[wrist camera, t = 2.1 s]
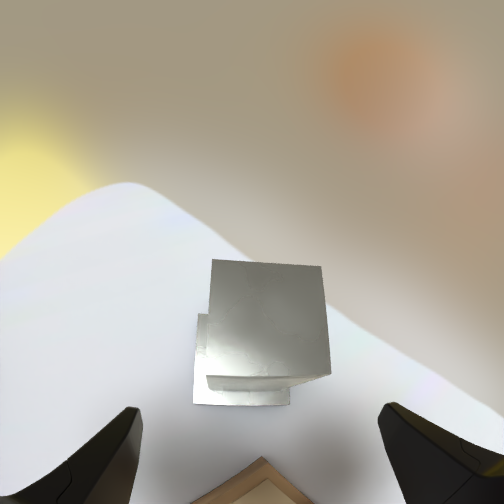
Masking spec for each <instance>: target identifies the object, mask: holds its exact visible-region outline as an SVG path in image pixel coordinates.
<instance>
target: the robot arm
mask: <svg viewBox="0 0 504 504" xmlns="http://www.w3.org/2000/svg"><path fill="white" fill-rule="evenodd" d="M378 425H379V429H380V432H381V436H382V439H383V443H384V446H385V450H386V453H387V455H388V458H389V460H390V463H391V465H392V468H393V470H394V473H395V476H396V478H397V481H398V483H399V486H400V488H401V491H402V494H403V496H404V499H405V502H406V504H504V455H502V454H499V453H496V452H493V451H490V450H487V449H485V448H482V447H480V446H477V445H475V444H472V443H470V442H468V441H466V440H464V439H462V438H459V437H458V436H456V435H454V434H452V433H450V432H449V431H447V430H445V429H443V428H441V427H439V426H437V425H435V424H434V423H432V422H430V421H428V420H426V419H424V418H423V417H421V416H419V415H417V414H415V413H414V412H412V411H410V410H408V409H407V408H405V407H403V406H401V405H400V404H398V403H396V402H390V403H386V404H385V405H384V406H383V408H382V410H381V412H380V414H379V416H378ZM142 431H143V422H142V417H141V413H140V410H139V408H135V407H126V408H125V409H124V410H123V411H122V412H121V413H120V414H119V415H117V416H116V417H115V418H114V419H113V420H112V421H111V422H109V423H108V424H107V425H106V426H105V427H104V428H103V429H102V430H100V431H99V432H98V433H97V434H96V435H95V436H94V437H92V438H91V439H90V440H89V441H88V442H87V443H85V444H84V445H83V446H82V447H81V448H80V449H78V450H77V451H76V452H75V453H74V454H73V455H71V456H70V457H69V458H68V459H67V460H65V461H64V462H63V463H62V464H61V465H59V466H58V467H57V468H56V469H54V470H53V471H52V472H50V473H49V474H47V475H46V476H44V477H43V478H41V479H40V480H38V481H36V482H35V483H33V484H31V485H29V486H28V487H26V488H24V489H23V490H21V491H19V492H17V493H15V494H12V495H9V496H0V504H129V501H130V496H131V492H132V488H133V484H134V480H135V476H136V472H137V468H138V463H139V455H140V447H141V439H142Z"/></svg>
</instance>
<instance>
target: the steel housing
mask: <svg viewBox="0 0 504 504" xmlns="http://www.w3.org/2000/svg"><path fill="white" fill-rule="evenodd" d="M330 374H331V362H330V348H329V336H328V325H327V314H326V305H325V296H324V287H323V278H322V270H321V266H306V265H291V264H276V263H261V262H246V261H231V260H217V259H212V270H211V283H210V298H209V313H208V314H198V322H197V337H196V354H195V373H194V397H193V403H197V404H212V405H239V406H268V405H290V398H289V387H293V386H296V385H299V384H302V383H306V382H309V381H312V380H315V379H318V378H321V377H324V376H327V375H330Z"/></svg>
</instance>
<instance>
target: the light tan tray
mask: <svg viewBox="0 0 504 504" xmlns="http://www.w3.org/2000/svg"><path fill="white" fill-rule="evenodd" d="M191 504H314V503H313V502H312V501H310V500H309V499H308V498H307V497H306V496H304V495H303V494H302V493H301V492H300V491H299V490H297V489H296V488H295V487H294V486H293V485H292V484H291V483H290V482H288V481H287V480H286V479H285V478H284V477H283V476H282V475H281V474H280V473H279V472H278V471H277V470H276V469H275V468H273V467H272V466H271V465H270V464H269V463H268V462H267V461H266V460H265V459H264V458H263V457H260V458H259V459H258V460H256V461H255V462H254V463H252V464H251V465H249V466H248V467H247V468H245V469H244V470H243V471H241V472H240V473H238V474H237V475H235V476H234V477H232V478H231V479H230V480H228V481H227V482H225V483H224V484H222V485H220V486H219V487H217V488H216V489H214V490H213V491H211V492H209V493H208V494H206V495H204V496H203V497H201V498H199V499H198V500H196V501H194V502H192V503H191Z"/></svg>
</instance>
